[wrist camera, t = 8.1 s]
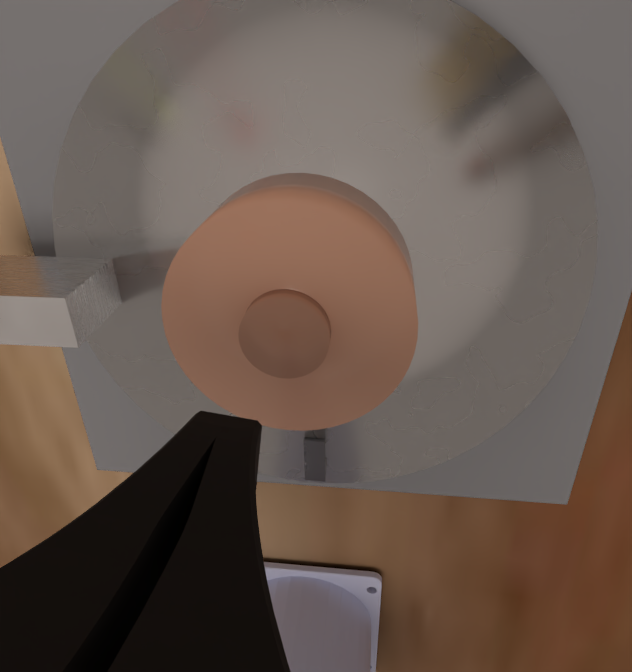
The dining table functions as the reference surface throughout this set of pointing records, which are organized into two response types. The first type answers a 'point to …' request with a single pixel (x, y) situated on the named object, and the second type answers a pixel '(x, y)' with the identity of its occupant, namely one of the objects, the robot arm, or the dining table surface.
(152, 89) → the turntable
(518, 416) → the base plate
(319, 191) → the cover
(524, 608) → the dining table surface
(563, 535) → the dining table surface
